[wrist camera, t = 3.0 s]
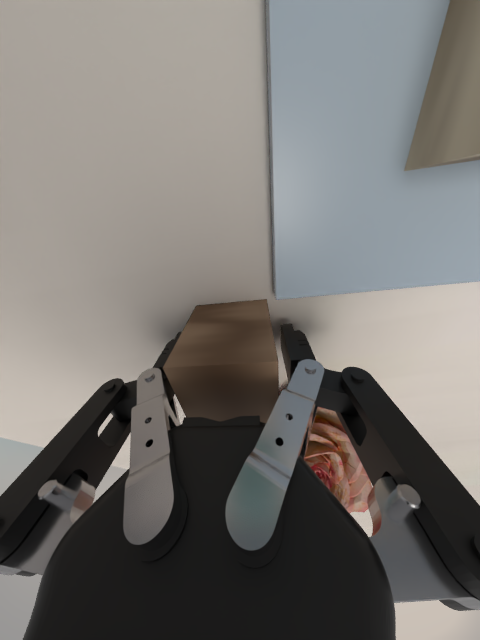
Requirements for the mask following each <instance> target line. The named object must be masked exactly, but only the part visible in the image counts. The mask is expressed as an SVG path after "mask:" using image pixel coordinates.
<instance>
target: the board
mask: <svg viewBox="0 0 480 640" xmlns="http://www.w3.org/2000/svg"><path fill="white" fill-rule="evenodd" d="M265 1H266V36H267V71H268V106H269V141H270V176H271V211H272V246H273V281H274V295H275V298H276V300H280V299H291V298H302V297H313V296H324V295H335V294H346V293H357V292H368V291H379V290H390V289H401V288H412V287H423V286H434V285H445V284H456V283H467V282H478V281H480V160H475V161H468V162H462V163H455V164H449V165H442V166H435V167H429V168H422V169H416V170H409V171H404V169H405V166H406V162H407V158H408V155H409V151H410V147H411V144H412V140H413V136H414V132H415V129H416V125H417V121H418V118H419V114H420V110H421V107H422V103H423V99H424V95H425V92H426V88H427V84H428V81H429V77H430V73H431V70H432V66H433V62H434V58H435V55H436V51H437V47H438V44H439V40H440V36H441V32H442V29H443V25H444V21H445V18H446V14H447V10H448V7H449V3H450V0H265Z"/></svg>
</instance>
